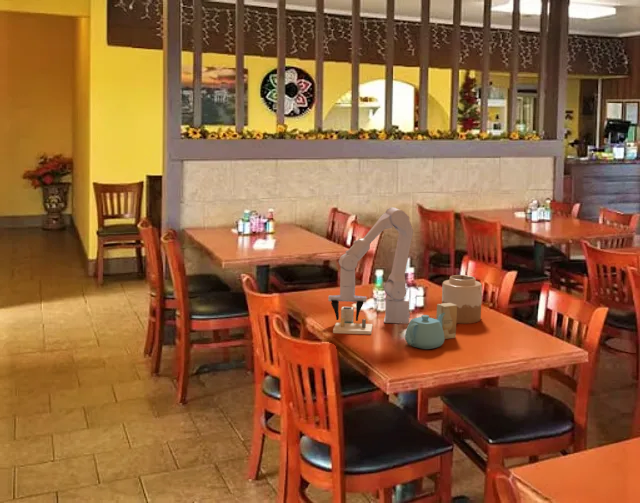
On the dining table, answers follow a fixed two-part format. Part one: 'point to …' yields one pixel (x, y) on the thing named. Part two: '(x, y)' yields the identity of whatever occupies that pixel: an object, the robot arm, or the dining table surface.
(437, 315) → the skincare box
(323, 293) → the dining table surface
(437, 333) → the teapot
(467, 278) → the vase
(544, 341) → the dining table surface
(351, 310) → the teal banded block
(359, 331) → the pin board
